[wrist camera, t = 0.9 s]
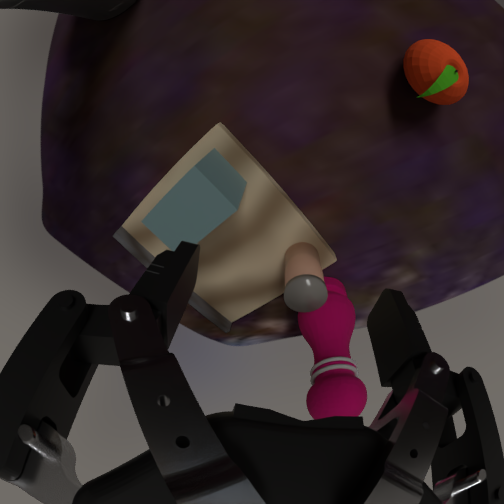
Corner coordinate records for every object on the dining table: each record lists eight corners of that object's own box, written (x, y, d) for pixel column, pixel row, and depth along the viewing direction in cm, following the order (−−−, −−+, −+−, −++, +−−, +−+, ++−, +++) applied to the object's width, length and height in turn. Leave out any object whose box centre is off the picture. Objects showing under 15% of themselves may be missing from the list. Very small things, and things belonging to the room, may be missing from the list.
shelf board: (124, 224, 33) (112, 236, 30) (220, 122, 25) (213, 125, 22) (229, 317, 40) (225, 333, 37) (334, 253, 32) (339, 268, 29)
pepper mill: (303, 317, 38) (308, 450, 22) (290, 281, 35) (291, 431, 18) (351, 305, 37) (378, 437, 20) (344, 266, 33) (379, 415, 16)
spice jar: (276, 254, 31) (274, 294, 25) (305, 234, 29) (311, 271, 24) (297, 277, 33) (300, 318, 27) (326, 259, 31) (335, 299, 25)
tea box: (168, 192, 28) (141, 221, 22) (214, 147, 25) (194, 165, 19) (200, 223, 30) (180, 259, 24) (248, 183, 27) (239, 211, 21)
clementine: (417, 120, 22) (452, 131, 16) (374, 72, 20) (403, 67, 14) (454, 80, 19) (492, 83, 13) (415, 32, 17) (449, 22, 11)
